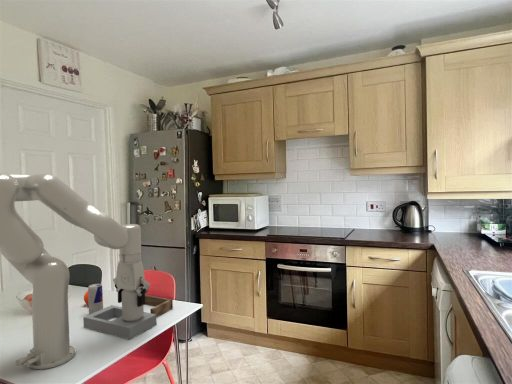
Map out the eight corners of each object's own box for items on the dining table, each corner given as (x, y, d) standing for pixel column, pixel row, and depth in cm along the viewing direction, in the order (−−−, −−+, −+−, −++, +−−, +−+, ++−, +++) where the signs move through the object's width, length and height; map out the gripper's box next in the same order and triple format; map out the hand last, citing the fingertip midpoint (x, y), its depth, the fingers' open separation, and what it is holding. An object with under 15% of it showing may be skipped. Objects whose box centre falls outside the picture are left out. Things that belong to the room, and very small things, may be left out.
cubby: (152, 319, 131) (152, 309, 131) (122, 312, 138) (122, 303, 138) (172, 308, 142) (172, 299, 141) (144, 303, 149) (143, 294, 148)
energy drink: (105, 313, 137) (104, 285, 137) (91, 317, 134) (90, 288, 133) (100, 310, 141) (99, 282, 141) (86, 314, 137) (85, 285, 137)
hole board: (130, 339, 114) (129, 328, 114) (83, 327, 124) (83, 317, 124) (156, 324, 126) (156, 314, 126) (111, 314, 136) (111, 305, 136)
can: (139, 322, 119) (138, 289, 118) (118, 322, 119) (117, 289, 118) (146, 314, 126) (145, 283, 126) (127, 314, 126) (126, 283, 126)
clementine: (84, 302, 151) (84, 287, 150) (101, 300, 153) (100, 285, 153) (83, 308, 143) (82, 292, 143) (101, 306, 146) (100, 290, 146)
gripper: (105, 257, 122) (106, 303, 122) (140, 262, 114) (141, 310, 115) (121, 253, 128) (122, 297, 129) (155, 257, 121) (156, 303, 121)
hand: (131, 303), depth 122 cm, fingers open, 9 cm apart
